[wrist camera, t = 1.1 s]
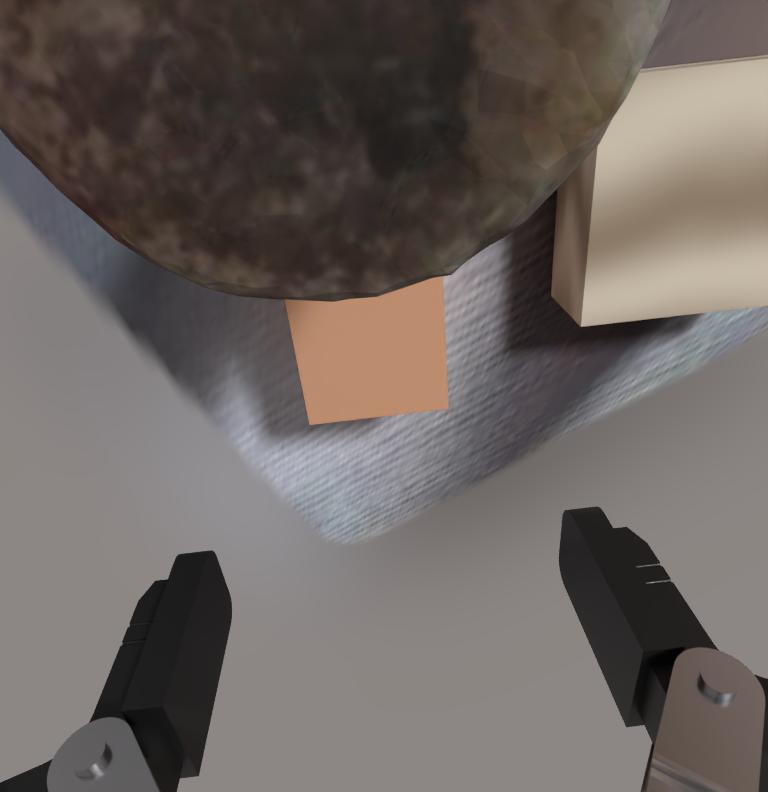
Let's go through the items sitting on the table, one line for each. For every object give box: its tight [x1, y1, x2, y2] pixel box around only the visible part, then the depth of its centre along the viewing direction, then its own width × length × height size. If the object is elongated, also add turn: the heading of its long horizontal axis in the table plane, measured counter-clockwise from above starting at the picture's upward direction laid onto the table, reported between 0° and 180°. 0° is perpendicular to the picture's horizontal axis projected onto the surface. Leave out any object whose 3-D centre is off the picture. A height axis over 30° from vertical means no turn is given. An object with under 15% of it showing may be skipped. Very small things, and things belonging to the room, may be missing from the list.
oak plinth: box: [551, 55, 768, 327], centre depth 23 cm, size 10×10×4 cm
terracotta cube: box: [284, 276, 449, 425], centre depth 24 cm, size 6×6×6 cm
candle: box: [0, 0, 671, 302], centre depth 13 cm, size 8×7×20 cm
